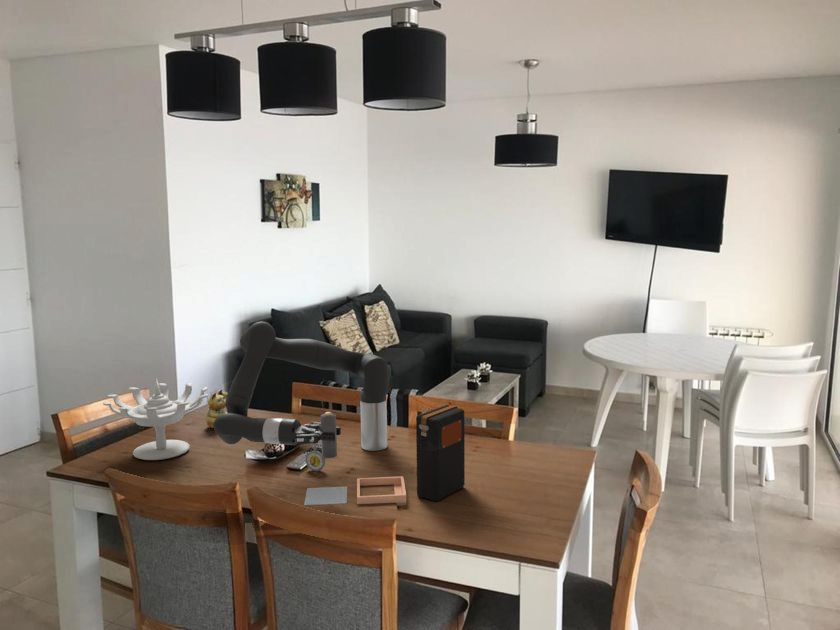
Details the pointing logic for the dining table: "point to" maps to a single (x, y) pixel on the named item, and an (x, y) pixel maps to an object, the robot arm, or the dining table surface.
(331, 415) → the battery
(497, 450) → the dining table surface
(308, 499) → the pad
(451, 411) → the black case
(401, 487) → the bin
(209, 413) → the decorative figurine
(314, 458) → the pocket watch
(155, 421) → the candelabra
